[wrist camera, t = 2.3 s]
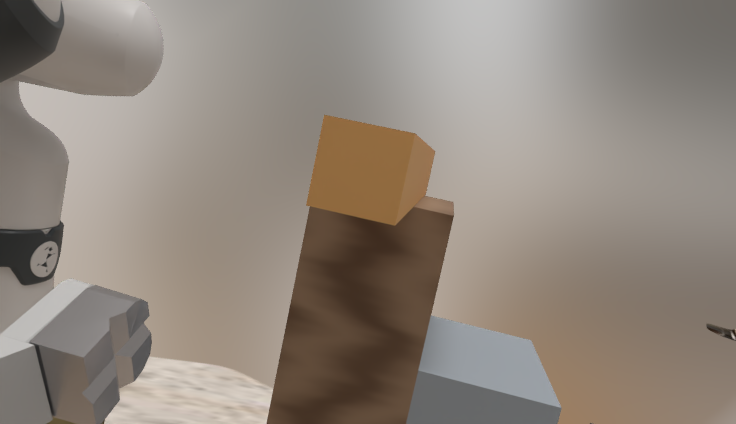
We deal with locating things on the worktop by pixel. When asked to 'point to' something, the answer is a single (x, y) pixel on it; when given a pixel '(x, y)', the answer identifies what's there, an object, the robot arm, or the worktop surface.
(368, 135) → the orange block
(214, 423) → the worktop surface
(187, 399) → the worktop surface
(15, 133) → the robot arm
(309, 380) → the walnut stand
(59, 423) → the cork
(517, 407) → the slate block
